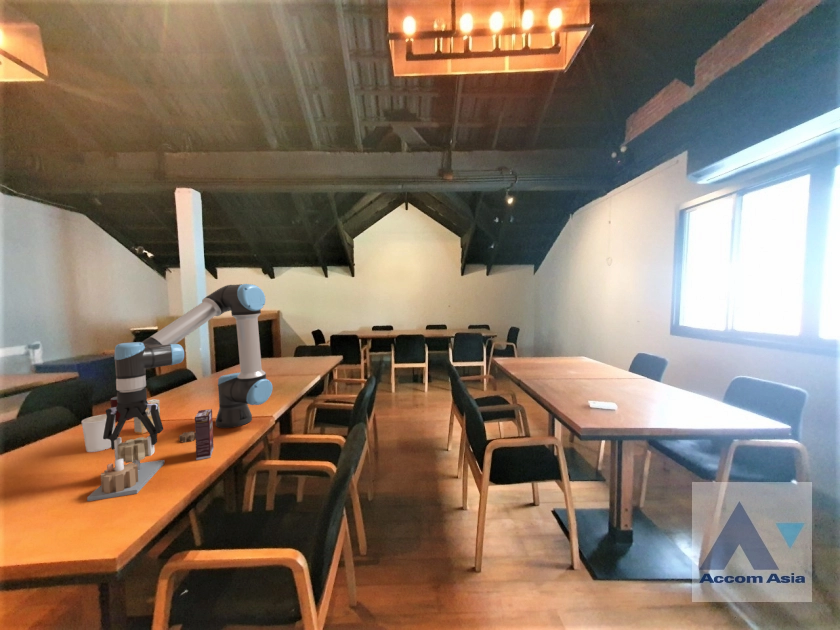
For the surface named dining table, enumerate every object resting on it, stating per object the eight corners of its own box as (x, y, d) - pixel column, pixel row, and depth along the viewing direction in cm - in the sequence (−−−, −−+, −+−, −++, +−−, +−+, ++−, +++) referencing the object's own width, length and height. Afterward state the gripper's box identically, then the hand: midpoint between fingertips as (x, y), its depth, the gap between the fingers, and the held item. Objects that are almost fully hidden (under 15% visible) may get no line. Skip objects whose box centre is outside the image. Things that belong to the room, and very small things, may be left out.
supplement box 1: (141, 434, 148) (139, 405, 147) (134, 433, 150) (132, 404, 149) (161, 427, 156) (159, 399, 155) (154, 426, 157) (152, 398, 157)
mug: (145, 414, 175) (144, 393, 174) (139, 419, 167) (137, 397, 166) (116, 417, 170) (115, 395, 170) (108, 423, 162) (106, 400, 162)
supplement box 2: (211, 457, 125) (209, 415, 124) (195, 460, 123) (193, 417, 122) (214, 448, 133) (212, 408, 132) (199, 451, 131) (197, 410, 130)
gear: (196, 435, 146) (196, 430, 146) (196, 440, 141) (196, 434, 141) (180, 438, 143) (179, 433, 143) (179, 443, 138) (178, 437, 138)
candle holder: (96, 454, 130) (94, 423, 129) (76, 452, 132) (74, 421, 131) (123, 443, 139) (121, 414, 139) (104, 441, 141) (102, 413, 141)
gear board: (164, 463, 122) (163, 437, 121) (137, 493, 103) (135, 463, 102) (123, 468, 118) (122, 442, 118) (87, 501, 99) (85, 470, 98)
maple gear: (155, 449, 119) (155, 435, 119) (144, 460, 111) (143, 445, 111) (126, 453, 117) (125, 439, 117) (113, 464, 109) (112, 449, 109)
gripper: (173, 383, 120) (176, 447, 121) (99, 389, 113) (103, 456, 115) (164, 389, 113) (168, 456, 114) (84, 395, 106) (89, 466, 107)
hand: (135, 456), depth 114 cm, fingers closed on maple gear, 8 cm apart
